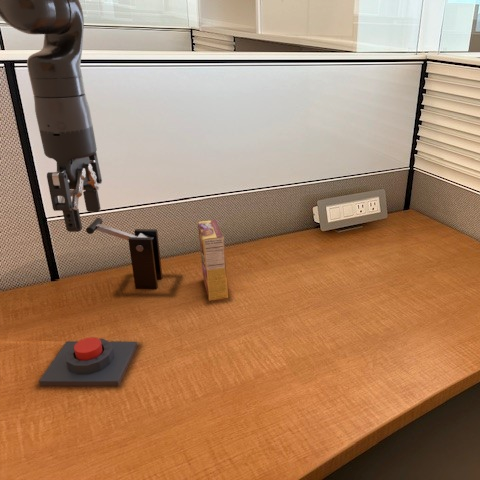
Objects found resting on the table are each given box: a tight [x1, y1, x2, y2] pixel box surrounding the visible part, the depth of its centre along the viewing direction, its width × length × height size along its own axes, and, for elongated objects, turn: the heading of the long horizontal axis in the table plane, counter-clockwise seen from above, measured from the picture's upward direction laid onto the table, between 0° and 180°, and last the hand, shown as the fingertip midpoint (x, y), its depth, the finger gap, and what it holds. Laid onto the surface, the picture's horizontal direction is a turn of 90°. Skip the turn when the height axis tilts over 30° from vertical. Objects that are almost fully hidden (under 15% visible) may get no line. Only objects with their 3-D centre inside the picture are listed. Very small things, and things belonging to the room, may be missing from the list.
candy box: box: [197, 219, 229, 302], centre depth 99 cm, size 9×4×15 cm, turn 20°
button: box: [74, 336, 103, 361], centre depth 78 cm, size 4×4×2 cm
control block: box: [38, 338, 138, 387], centre depth 79 cm, size 12×10×4 cm
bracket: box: [127, 228, 163, 290], centre depth 100 cm, size 11×8×13 cm
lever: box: [85, 217, 153, 241], centre depth 97 cm, size 12×5×2 cm, turn 93°
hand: (84, 220), depth 81 cm, fingers open, 8 cm apart
